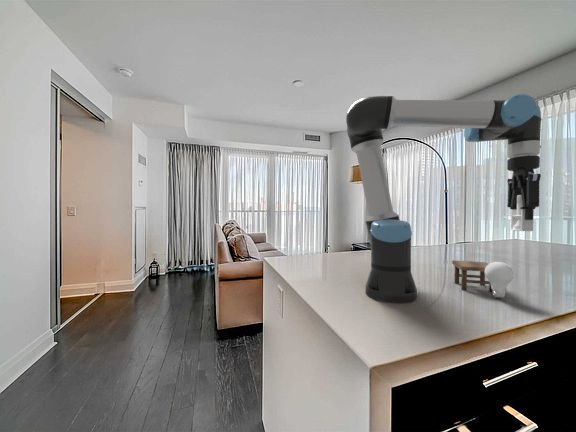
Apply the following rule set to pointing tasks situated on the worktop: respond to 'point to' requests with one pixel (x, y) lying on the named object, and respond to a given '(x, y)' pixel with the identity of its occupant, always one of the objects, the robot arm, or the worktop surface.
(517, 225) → the candle
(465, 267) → the small wooden table
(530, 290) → the worktop surface
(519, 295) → the worktop surface
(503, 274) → the light bulb
